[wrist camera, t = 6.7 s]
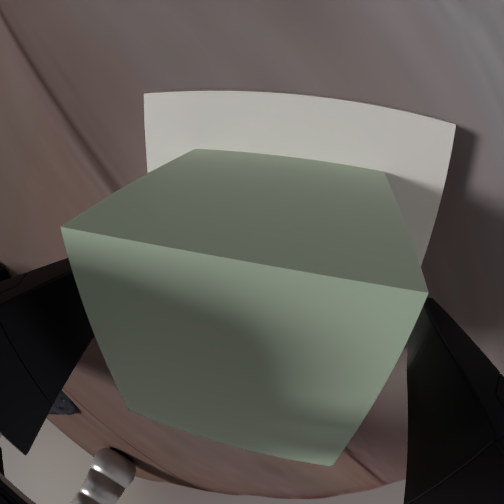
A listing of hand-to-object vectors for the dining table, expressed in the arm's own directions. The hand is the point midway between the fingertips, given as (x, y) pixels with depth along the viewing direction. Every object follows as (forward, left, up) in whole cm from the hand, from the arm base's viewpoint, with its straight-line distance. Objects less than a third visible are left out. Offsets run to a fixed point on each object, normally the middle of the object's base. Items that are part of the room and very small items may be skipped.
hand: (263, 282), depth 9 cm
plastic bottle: (-40, +20, -4) cm, 45 cm away
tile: (0, 0, -4) cm, 4 cm away
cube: (0, 0, -2) cm, 2 cm away
